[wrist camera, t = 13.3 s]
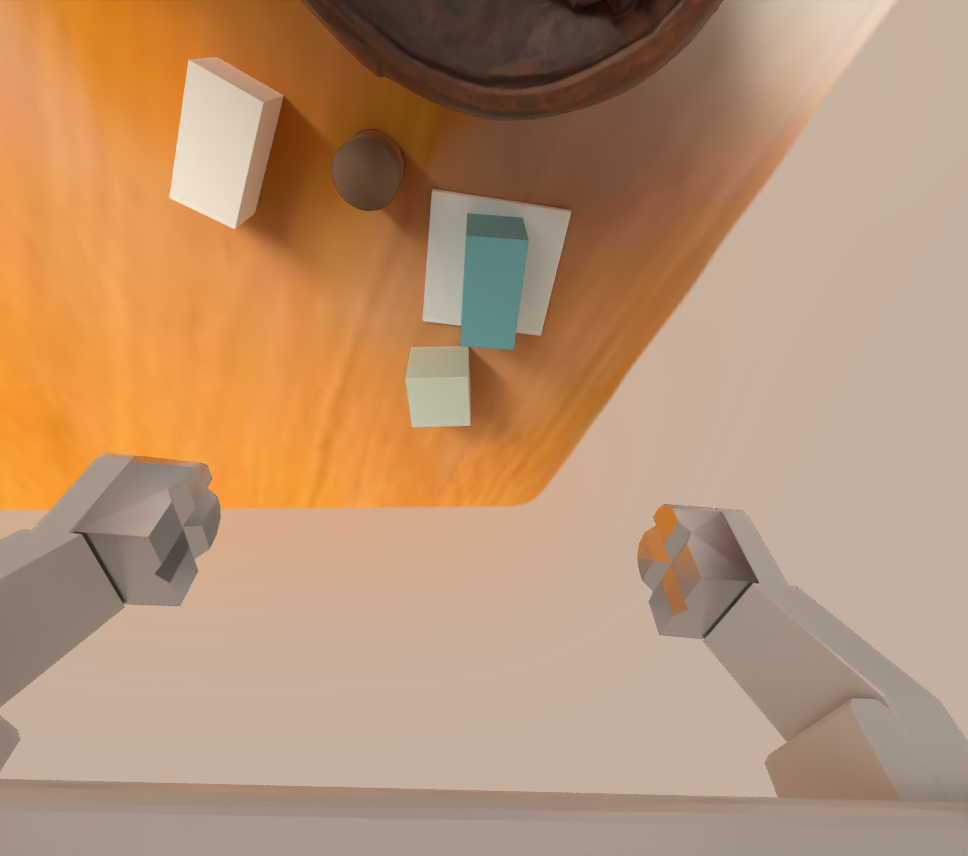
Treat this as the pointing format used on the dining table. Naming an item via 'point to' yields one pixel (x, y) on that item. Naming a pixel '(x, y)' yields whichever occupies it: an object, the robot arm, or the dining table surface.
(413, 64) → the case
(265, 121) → the cream brick
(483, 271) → the teal brick
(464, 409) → the sage cube
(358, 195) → the walnut cylinder
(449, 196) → the coaster
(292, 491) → the dining table surface
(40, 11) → the dining table surface
